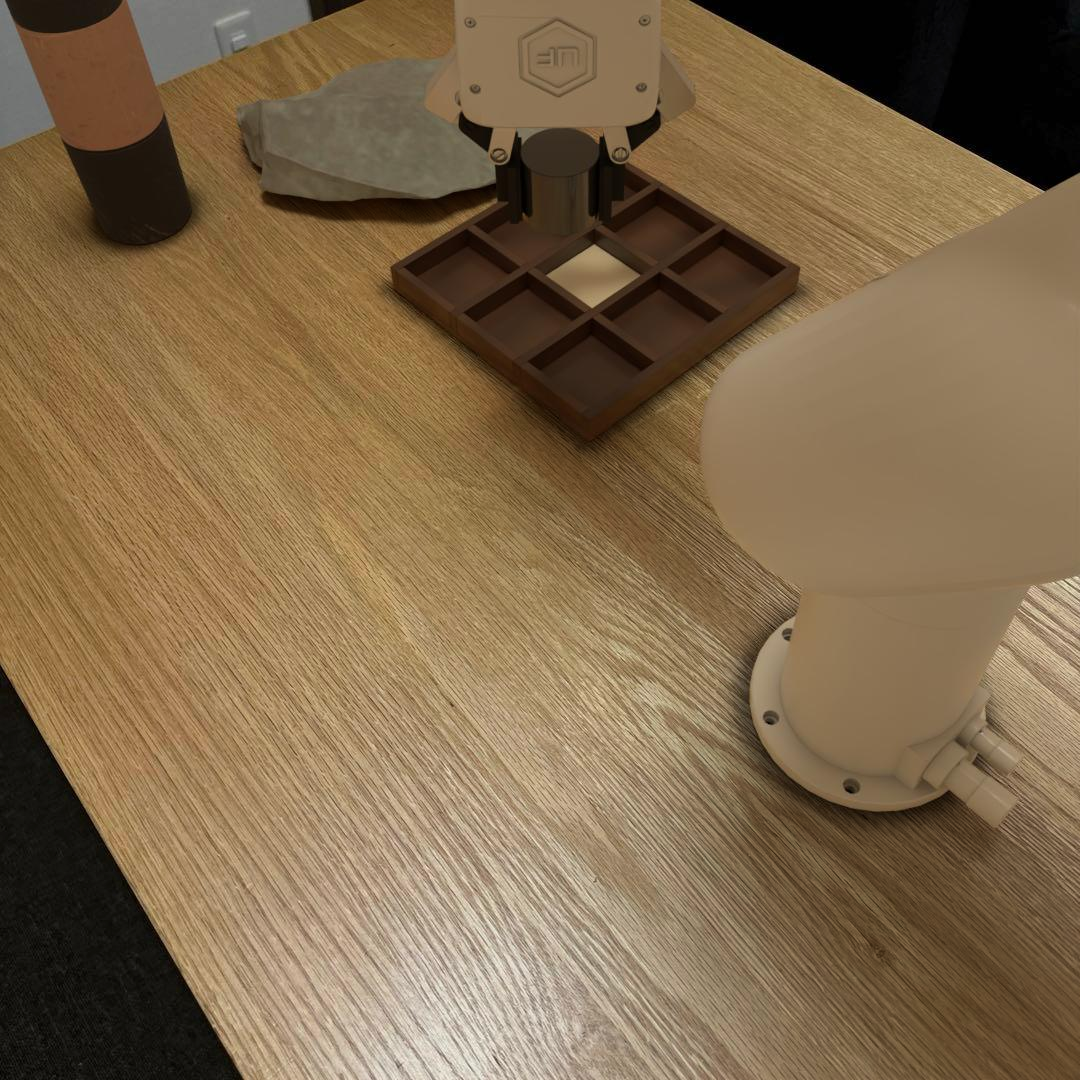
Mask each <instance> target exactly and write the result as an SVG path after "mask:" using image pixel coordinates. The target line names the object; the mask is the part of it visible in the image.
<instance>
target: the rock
mask: <svg viewBox="0 0 1080 1080" xmlns="http://www.w3.org/2000/svg"><path fill="white" fill-rule="evenodd" d="M445 57H446V56H439V57H434V58H431V59H419V58H411V57H393V58H390V59H386V60H383V61H375V62H367V63H363V64H359V65H356V66H352V67H350V68H348V69H346V70H345V71H343V72H340V73H338V74H335V75H334V76H332V77H330V79H329V80H328V82H326V83H324V84H323V85H322V86H320V87H319V88H317V89H314V90H312V91H308V92H304V93H300V94H297V95H292V96H287V97H282V98H277V99H269V98H268V99H267V98H266V99H265V98H261V99H257V100H256V101H253V102H248V103H241V104H239V105H237V106H236V108H235V114H236V124H237V127H238V129H239V131H240V133H241V134H242V138H243V141H244V144H245V147H246V149H247V151H248V155H249V158H250V160H251V162H252V163H253V164H255V165H256V166H257V167H259V168H261V177H260V180H259V181H258V183H257V185H258V186H259V189H261V190H264V191H266V192H269V193H271V194H277V195H282V196H283V195H284V196H285V195H286V196H287V195H288V196H294V197H300V198H301V197H302V198H307V199H310V200H316V201H319V202H343V201H346V202H353V201H357V200H358V201H359V200H361V199H364V200H365V199H366V200H367V199H388V198H390V199H412V200H431V199H438V198H441V197H444V196H447V195H449V194H451V193H455V192H461V191H467V190H473V189H479V188H485V187H487V186H490V185H496V175H495V164H493V163H492V162H491V161H490V160H489V158H488V153H487V152H486V151H485V150H484V149H482V148H481V147H480V146H479V145H477V144H476V143H475V142H474V141H472V140H471V139H470V138H468V137H467V136H466V135H465V134H463V133H462V132H461V131H460V129H459V126H457V125H455V124H454V123H452V124H451V123H449V122H447V121H446V120H444V119H442V118H440V117H439V116H437V115H435V114H434V113H432V112H430V111H428V110H427V109H426V108H425V106H424V102H423V101H424V94H425V88H426V85H427V84H428V82H429V81H430V79H431V78H432V76H433V75H434V73H435V72H436V71H437V69H438V68H439V66H440V65H441V63H442V62H443V60H444V59H445ZM473 88H474V87H473ZM476 89H477V88H476ZM546 129H551V128H517V129H516V131H517V132H518V137H522V145H523V143H524V142H525V141H526V140H527V139H528V138H529V137H530V136H532V135H533V134H535V133H537V132H540V131H543V130H546Z"/></svg>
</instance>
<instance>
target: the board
mask: <svg viewBox="0 0 1080 1080" xmlns="http://www.w3.org/2000/svg"><path fill="white" fill-rule="evenodd" d="M597 144H598V145H599V142H597ZM389 268H390V274H391V279H392V284H393V290H394V291H395V292H397V293H398V294H399V295H401V296H402V298H405V299H406V300H407V301H408V302H410V303H411V304H412V305H413V306H415V307H416V308H417V309H419V310H420V311H421V312H422V313H423V314H425V315H426V316H427V317H429V318H430V319H432V320H433V322H435V323H437V325H438V326H440V327H442V328H443V330H446V331H447V332H448V333H449V334H450V335H452V336H453V337H454V338H456V339H457V340H458V341H460V342H461V343H462V344H463V345H464V346H466V347H467V348H469V350H471V351H472V352H474V353H475V354H476V355H478V356H479V357H480V358H481V359H482V360H484V361H485V362H486V363H488V364H489V365H490V366H492V367H493V368H494V369H495V370H497V371H498V372H499V373H501V374H502V375H503V376H504V377H506V378H507V379H508V380H509V381H510V382H512V383H513V384H514V385H516V386H518V388H519V389H521V390H522V391H524V392H525V393H526V394H527V395H529V397H531V398H533V399H534V400H535V401H536V402H538V404H541V406H543V407H544V408H546V409H547V410H548V411H549V412H551V414H553V415H554V416H556V417H557V418H558V419H560V420H561V421H562V422H563V423H565V424H566V425H567V426H568V427H570V428H571V429H572V430H574V431H575V432H576V433H577V434H579V435H580V436H582V437H583V438H584V439H585V440H586V441H588V442H591V441H593V440H594V439H596V438H597V437H599V435H601V434H602V433H604V432H605V431H606V430H607V429H609V428H611V427H612V426H613V425H615V424H616V423H617V422H618V421H620V420H621V419H623V418H625V416H627V415H628V414H630V413H631V412H632V411H633V410H635V409H637V408H638V407H639V406H641V405H642V404H644V402H646V401H647V400H649V399H650V398H652V397H653V396H655V394H657V393H658V392H660V391H661V390H662V389H664V388H665V387H667V386H668V385H669V384H671V383H672V382H673V381H675V380H676V379H677V378H679V377H680V376H681V375H683V374H684V373H685V372H687V371H688V370H690V369H691V368H693V367H694V366H696V365H697V364H698V363H699V362H701V361H702V360H704V359H705V358H706V357H707V356H709V355H710V354H712V353H714V352H715V351H716V350H717V349H718V348H720V347H722V345H724V344H725V343H727V342H728V341H729V340H731V339H732V338H734V337H735V336H736V335H738V334H739V333H740V332H741V331H743V330H744V329H746V328H747V327H748V326H750V325H751V324H753V323H754V322H756V321H757V320H758V319H760V318H761V317H762V316H764V315H765V314H766V313H768V312H769V311H770V310H772V309H773V308H774V307H776V306H777V305H778V304H780V303H782V302H783V301H784V300H785V299H787V298H788V297H790V296H791V295H792V294H794V293H796V292H797V289H798V284H799V279H800V272H801V266H799V265H798V264H796V263H794V262H792V261H791V260H789V259H788V258H786V257H785V256H783V255H781V254H779V253H778V252H776V251H774V250H773V249H771V248H770V247H768V246H766V245H764V244H763V243H761V242H760V241H758V240H756V239H755V238H753V237H752V236H750V235H748V234H747V233H745V232H743V231H742V230H740V229H739V228H737V227H735V226H734V225H732V224H730V223H729V222H727V221H725V220H724V219H722V218H720V217H719V216H718V215H716V214H714V213H713V212H711V211H709V210H708V209H706V208H704V207H703V206H702V205H700V204H698V203H696V202H695V201H693V200H691V199H690V198H688V197H687V196H684V195H683V194H682V193H680V192H678V191H676V190H675V189H673V188H672V187H670V186H668V185H667V184H664V182H661V180H659V179H657V178H655V177H653V176H652V175H650V174H648V172H646V171H644V170H642V169H640V168H638V166H635V164H632V163H631V162H630V161H628V162H627V163H625V185H624V201H612V213H611V223H602V221H599V214H598V217H597V219H596V220H595V222H594V223H593V224H592V225H591V226H590V227H588V228H587V229H585V230H583V231H581V232H579V233H576V234H572V235H565V236H555V235H549V234H545V233H541V232H539V231H537V230H535V229H534V228H532V227H531V226H530V225H529V224H528V223H527V222H526V220H525V219H524V216H523V221H519V224H510V217H509V202H497V201H496V202H495V203H493V204H492V205H490V206H488V207H487V208H485V209H483V210H482V211H480V212H478V213H477V214H475V215H473V216H472V217H470V218H468V219H466V220H465V221H463V222H461V223H460V224H458V225H457V226H455V227H454V228H452V229H450V230H448V231H446V232H445V233H444V234H442V235H440V236H438V237H437V238H435V239H433V240H431V241H430V242H428V243H427V244H425V245H423V246H422V247H420V248H418V249H417V250H415V251H414V252H412V253H409V255H407V256H405V257H403V258H402V259H400V260H398V261H397V262H395V263H394V264H392V265H390V266H389Z"/></svg>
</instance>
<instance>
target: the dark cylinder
mask: <svg viewBox="0 0 1080 1080" xmlns="http://www.w3.org/2000/svg"><path fill="white" fill-rule="evenodd" d="M597 143H598V142H597V141H596V140H595V138H593V137H592V136H591V135H590V134H588V133H586V132H584V131H582V130H578V129H577V128H551V129H546V130H543V131H540V132H537V133H535V134H533V135H532V136H530V137H529V138H528V139H527V140H526V141H525V142H524V143H523V145H522V147H521V156H520V158H521V180H522V202H523V216H524V219H525V220H526V222H527V223H528V224H529V225H530V226H531V227H532V228H534V229H535V230H537V231H539V232H541V233H545V234H549V235H555V236H565V235H572V234H576V233H579V232H581V231H583V230H585V229H587V228H588V227H590V226H591V225H592V224H593V223H594V222H595V220H596V219H597V217H598V214H599V161H600V148H599V145H598V144H599V143H598V144H597Z"/></svg>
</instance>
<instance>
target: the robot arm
mask: <svg viewBox="0 0 1080 1080" xmlns="http://www.w3.org/2000/svg"><path fill="white" fill-rule="evenodd" d="M453 4H454V35H455V36H454V37H455V42H454V44H453V45H452V47H451V48H450V50H449V51H448V53H447V54H446V56H444V57H445V59H444V60H443V62H442V63H441V65H440V66H439V68H438V69H437V71H436V72H435V73H434V75H433V76H432V78H431V79H430V81H429V82H428V84H427V85H426V88H425V94H424V101H423V102H424V106H425V108H426V109H427V110H428V111H430V112H432V113H434V114H435V115H437V116H439V117H440V118H442V119H444V120H446V121H447V122H449V123H451V124H452V123H454V124H455V125H457V126H459V129H460V131H461V132H462V133H463V134H465V135H466V136H467V137H468V138H470V139H471V140H472V141H474V142H475V143H476V144H477V145H479V146H480V147H481V148H482V149H484V150H485V151H486V152H487V153H488V158H489V160H490V161H491V162H492V163H493V164H495V175H496V183H495V188H496V189H495V191H496V203H497V202H509V217H510V224H519V221H523V202H522V180H521V158H520V156H521V147H522V137H518V132H517V131H516V129H517V128H571V129H593V128H595V129H600V128H601V129H602V135H601V136H599V137H598V144H599V148H600V161H599V221H602V223H611V213H612V201H624V185H625V163H627V162H630V160H631V159H632V156H633V154H632V153H633V152H634V151H635V150H636V149H637V148H639V147H640V146H641V145H643V143H645V142H646V141H647V140H648V139H649V138H651V137H652V136H653V135H654V134H656V133H657V132H658V131H659V130H660V128H661V126H662V125H663V124H665V123H669V122H671V121H673V120H674V119H676V118H678V117H679V116H681V115H683V114H684V113H686V112H687V111H689V110H690V109H692V108H693V107H694V106H695V105H696V103H697V99H696V98H697V94H696V85H695V83H694V81H693V80H692V79H691V77H690V76H689V74H688V73H687V71H686V70H685V69H684V68H683V66H682V65H681V64H680V62H679V61H678V59H677V58H676V56H675V55H674V53H673V52H672V51H671V50H670V49H669V47H668V45H667V44H666V43H665V41H664V40H663V39H662V0H454V3H453ZM473 87H474V88H473ZM476 88H477V89H476ZM698 441H699V442H698V445H699V446H698V447H699V448H698V449H699V453H698V454H699V463H700V464H699V465H700V471H701V477H702V480H703V484H704V487H705V491H706V493H707V497H708V498H709V501H710V504H711V506H712V508H713V510H714V512H715V514H716V516H717V517H718V519H719V520H720V522H721V524H722V525H723V527H724V528H725V529H726V531H727V532H728V533H729V535H730V536H731V538H732V539H733V540H734V541H735V542H736V543H737V544H738V545H739V547H741V548H742V549H743V551H745V553H746V554H748V555H749V556H750V557H751V558H753V559H754V560H755V561H756V562H757V563H759V564H760V565H761V566H762V567H764V568H766V570H768V571H769V572H771V573H773V574H774V575H776V576H778V577H780V578H781V579H784V580H786V581H787V582H789V583H791V584H792V585H793V584H794V585H796V586H799V587H800V588H802V591H801V594H800V599H799V602H798V605H797V609H796V614H795V615H793V616H792V617H791V618H789V619H788V620H786V621H785V622H783V623H781V624H780V625H779V626H778V628H776V630H774V631H773V632H772V633H771V634H770V635H769V636H768V638H767V639H766V641H765V643H764V644H763V645H762V647H761V649H760V650H759V652H758V654H757V658H756V659H755V662H754V666H753V668H752V673H751V677H750V683H749V708H750V713H751V718H752V719H751V720H752V723H753V726H754V728H755V731H756V733H757V736H758V738H759V740H760V743H761V744H762V746H763V747H764V748H765V750H766V752H767V753H768V755H769V756H770V758H771V759H772V760H773V762H774V763H775V764H776V765H777V766H778V767H779V768H780V769H781V770H782V771H783V772H784V773H785V774H786V775H787V777H788V778H790V779H792V781H794V782H796V783H797V784H799V785H800V786H801V787H803V788H804V789H805V790H807V791H808V792H810V793H812V794H814V795H816V796H818V797H819V798H820V797H821V798H822V799H824V800H825V801H828V802H830V803H834V804H837V805H840V806H843V807H847V808H848V809H849V808H850V809H852V810H853V809H855V810H862V811H867V812H868V811H869V812H897V811H898V812H899V811H903V810H908V809H911V808H916V807H920V806H922V805H925V804H927V803H929V802H932V801H934V800H935V799H938V798H940V797H942V796H943V795H944V794H946V793H947V792H948V791H950V792H951V793H952V794H953V795H955V797H957V798H959V800H961V801H962V802H963V803H964V805H965V806H966V807H968V808H969V809H970V810H971V811H973V813H975V814H976V815H977V816H978V817H980V818H981V819H982V820H984V822H986V823H987V824H988V825H989V826H990V827H992V828H993V829H997V827H998V826H1000V824H1001V823H1002V822H1003V821H1004V820H1005V819H1006V818H1007V817H1008V815H1009V814H1010V813H1011V811H1012V810H1013V809H1014V808H1016V805H1017V804H1018V803H1019V801H1020V798H1019V797H1017V796H1016V795H1015V794H1013V793H1012V792H1011V791H1010V790H1009V789H1007V787H1005V786H1003V785H1002V784H1001V783H1000V782H998V781H997V780H995V779H994V778H993V777H992V776H990V775H989V776H988V775H986V773H984V772H983V771H982V770H980V769H978V767H976V765H974V764H973V763H974V761H975V759H976V758H977V756H978V754H979V755H981V756H982V757H983V758H984V759H986V762H987V763H988V764H990V765H991V766H992V767H994V768H995V769H997V770H998V771H999V772H1000V773H1001V774H1002V775H1004V776H1005V777H1009V776H1010V775H1011V774H1012V773H1013V772H1014V771H1015V769H1017V767H1018V766H1020V764H1021V762H1022V761H1023V760H1024V758H1025V755H1024V754H1023V753H1021V752H1020V751H1019V750H1017V749H1016V748H1015V747H1014V746H1012V745H1011V744H1010V743H1009V742H1007V741H1006V740H1005V739H1003V740H1002V739H1001V738H1000V737H999V736H997V735H996V734H995V733H993V732H992V731H990V730H989V729H988V728H987V727H988V725H989V723H988V721H987V714H986V706H987V704H988V702H989V700H990V699H991V697H992V694H991V692H990V691H988V690H987V689H986V688H984V687H983V686H981V685H980V683H981V681H982V679H983V677H984V675H985V673H986V672H987V670H988V668H989V666H990V664H991V662H992V660H993V657H994V656H995V655H996V652H997V651H998V649H999V647H1000V645H1001V643H1002V641H1003V639H1004V637H1005V635H1006V633H1007V632H1008V630H1009V627H1010V626H1011V624H1012V622H1013V620H1014V618H1015V616H1016V614H1017V613H1018V610H1019V608H1020V607H1021V605H1022V603H1023V601H1024V599H1025V597H1026V595H1027V594H1028V592H1029V590H1031V587H1032V586H1041V585H1046V584H1052V583H1056V582H1061V581H1064V580H1069V579H1073V578H1075V577H1078V576H1080V172H1078V173H1076V174H1075V175H1073V176H1071V177H1069V178H1068V179H1065V180H1064V181H1062V182H1060V183H1058V184H1056V185H1055V186H1053V187H1051V188H1049V189H1046V190H1045V191H1043V192H1041V193H1040V194H1039V193H1038V195H1035V196H1034V197H1032V198H1030V199H1028V200H1027V201H1025V202H1023V203H1020V204H1019V205H1017V206H1015V207H1013V208H1011V209H1010V210H1008V211H1006V212H1004V213H1002V214H1000V215H998V216H996V217H995V218H993V219H991V220H989V221H987V222H985V223H984V224H981V225H980V226H977V227H974V228H971V229H969V230H966V231H963V232H961V233H959V234H957V235H955V236H953V237H950V238H948V239H947V240H944V241H942V242H940V243H938V244H936V245H934V246H933V247H930V248H929V249H927V250H925V251H924V252H921V253H920V254H917V255H916V256H914V257H913V258H910V259H909V260H907V261H905V262H903V263H902V264H899V265H898V266H896V267H894V268H891V269H890V270H888V271H886V272H884V273H882V274H881V275H878V276H877V277H875V278H873V279H871V280H870V281H867V282H866V283H864V284H863V285H861V286H860V287H859V288H856V290H853V291H852V292H850V293H848V294H846V295H844V296H842V297H840V298H838V299H837V300H835V301H833V302H831V303H829V304H827V305H826V306H823V307H821V308H820V309H818V310H816V311H814V312H812V313H811V314H809V315H807V316H805V317H803V318H801V319H799V320H798V321H795V322H793V323H792V324H790V325H788V326H786V327H784V328H783V329H781V330H779V331H777V332H775V333H773V334H771V335H770V336H768V337H765V338H764V339H762V340H759V342H757V343H754V344H752V345H751V346H750V347H748V348H747V349H745V350H743V351H742V352H741V353H739V355H737V356H736V357H735V358H733V360H731V362H730V363H729V364H728V365H726V367H725V368H724V370H722V372H721V374H719V376H718V378H717V379H716V381H715V383H714V384H713V386H712V388H711V391H710V393H709V394H708V396H707V400H706V403H705V405H704V408H703V413H702V417H701V421H700V428H699V440H698ZM768 723H770V724H768ZM846 790H849V791H851V792H852V793H850V792H848V791H846Z"/></svg>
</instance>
